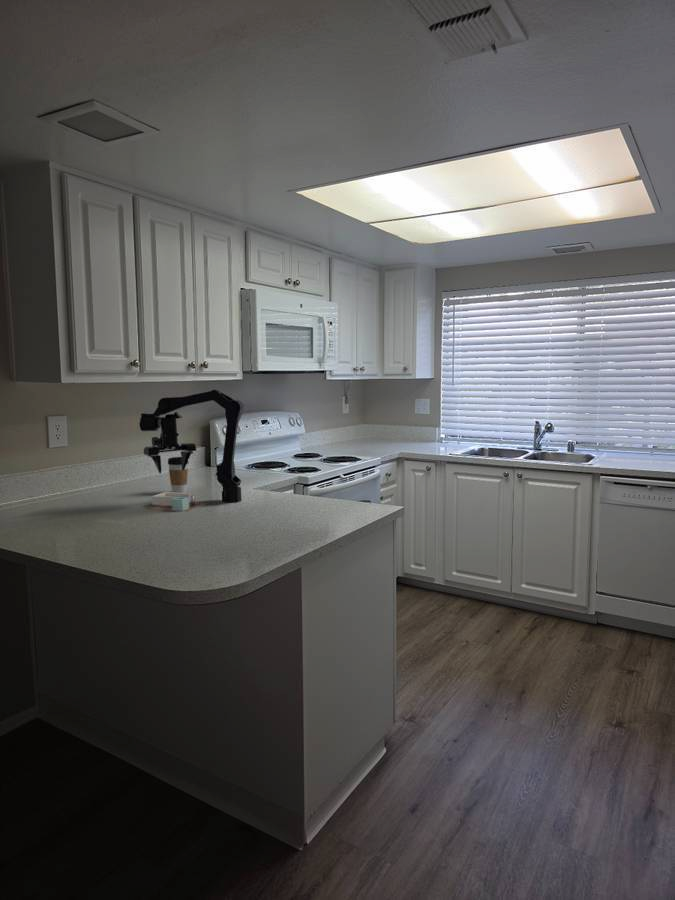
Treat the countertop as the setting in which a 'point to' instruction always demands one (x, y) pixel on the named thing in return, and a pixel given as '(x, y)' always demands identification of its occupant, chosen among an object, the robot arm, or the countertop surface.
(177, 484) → the coffee cup
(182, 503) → the teal hollow cube
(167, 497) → the white bent bar
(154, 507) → the board
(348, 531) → the countertop surface
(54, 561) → the countertop surface
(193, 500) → the pin
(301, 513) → the countertop surface
